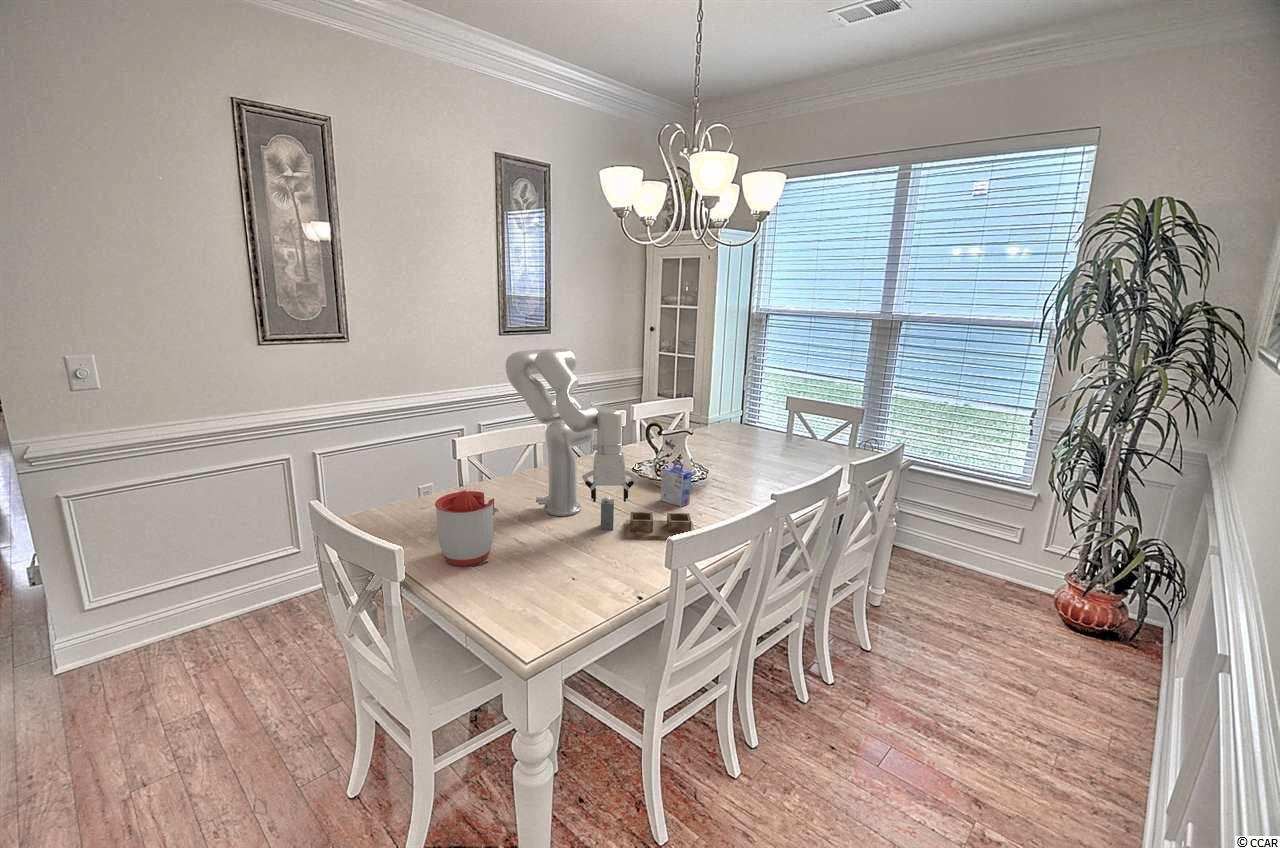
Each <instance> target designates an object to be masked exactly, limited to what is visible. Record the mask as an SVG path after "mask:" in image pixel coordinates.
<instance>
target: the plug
mask: <svg viewBox="0 0 1280 848" xmlns="http://www.w3.org/2000/svg"><path fill="white" fill-rule="evenodd" d="M600 503H601V504H600V531H614V516H615V515H614V513H615V498H614V499H613V498H612V499H611V497H610V496H605V497H604V498H601V502H600Z"/></svg>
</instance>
